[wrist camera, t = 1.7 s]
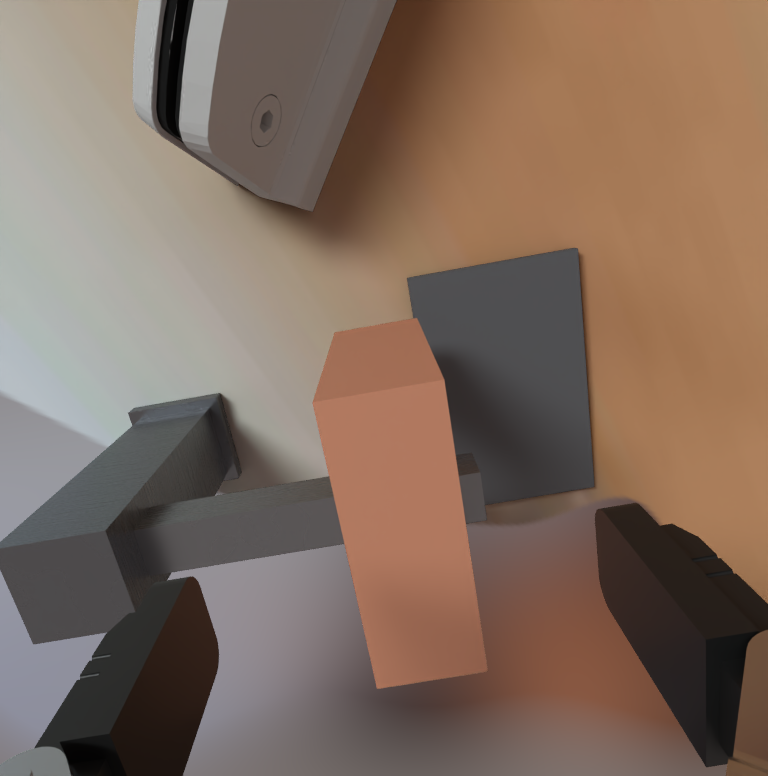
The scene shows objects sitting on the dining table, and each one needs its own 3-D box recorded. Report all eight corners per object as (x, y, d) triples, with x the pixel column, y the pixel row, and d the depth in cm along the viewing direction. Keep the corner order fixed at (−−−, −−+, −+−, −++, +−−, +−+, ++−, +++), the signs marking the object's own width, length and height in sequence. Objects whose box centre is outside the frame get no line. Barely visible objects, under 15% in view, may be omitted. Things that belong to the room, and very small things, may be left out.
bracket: (437, 354, 31) (483, 453, 18) (449, 436, 33) (500, 580, 20) (134, 408, 32) (-29, 539, 19) (159, 485, 33) (25, 657, 20)
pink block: (417, 317, 27) (444, 379, 17) (448, 518, 30) (487, 671, 20) (334, 332, 27) (312, 402, 17) (375, 530, 30) (377, 689, 20)
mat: (573, 247, 30) (577, 248, 29) (590, 482, 34) (594, 486, 33) (407, 277, 30) (407, 279, 29) (443, 506, 34) (445, 511, 33)
